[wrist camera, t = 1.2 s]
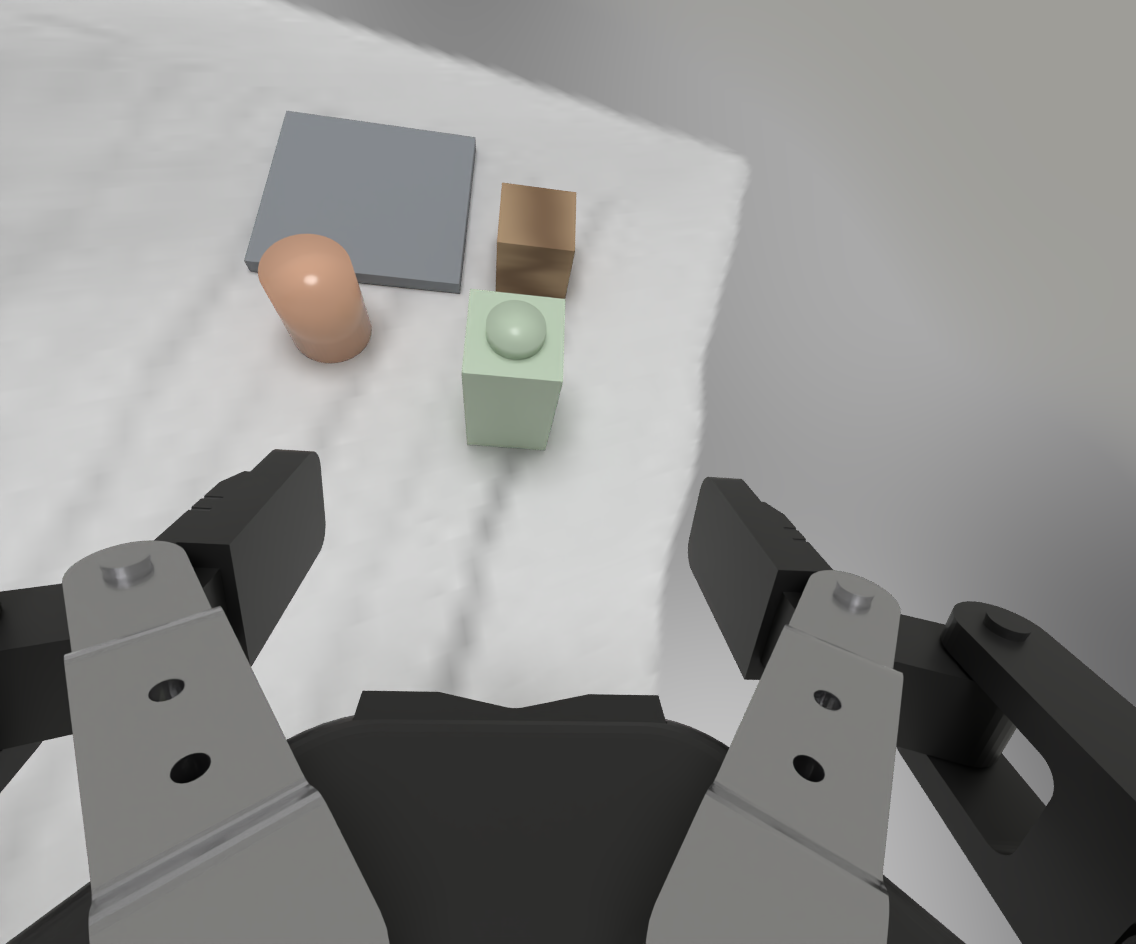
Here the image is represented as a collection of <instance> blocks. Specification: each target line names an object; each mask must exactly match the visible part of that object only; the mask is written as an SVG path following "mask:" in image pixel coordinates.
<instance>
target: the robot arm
mask: <svg viewBox="0 0 1136 944" xmlns="http://www.w3.org/2000/svg"><path fill="white" fill-rule="evenodd" d="M324 536H325V511H324V500H323V488H322V476H321V466H320V460H319V457H318V455H317V453H316V452H312V451H296V450H280V449H275V450H273V451H272V452H271V453H270V454H268V455H267V456H266V457H265V458H264V459H263V460H262V461H261V462H260V463H259V464H258V465H257V466H256V467H255V468H254V469H253V470H252V471H251V472H248V471H244V472H241V473H239V474H237V475H235V476H232V477H230V478H228V479H226V480H223V481H221V482H219V483H218V484H217V485H216V486H215V487H214V488H213V489H211V490H210V491H209V492H208V493H207V494H206V495H205V496H204V499H200V500H199V501H198V502H197V503H196V504H194V505H193V506H192V509H191V510H188V511H187V512H185V513H184V514H183V515H182V516H181V517H180V518H179V519H178V520H176V521H175V522H174V523H173V524H172V525H171V526H170V527H169V528H167V529H166V530H165V531H164V532H163V533H162V534H161V535H159V536H158V537H157V538H156V539H155V540H154V541H138V542H130V543H125V544H120V545H116V546H113V547H109V548H106V549H103V550H100V551H98V552H95V553H93V554H91V555H89V556H87V557H85V558H83V559H81V560H80V561H78V562H77V563H75V564H74V565H73V566H72V567H70V568H69V569H68V570H67V572H66V573H65V575H64V577H63V580H62V584H56V585H48V586H40V587H33V588H25V589H18V590H10V591H2V592H0V793H1V791H2V790H3V789H4V788H5V787H6V785H7V784H8V783H9V782H10V781H11V779H12V778H13V777H14V776H15V775H16V773H17V772H18V771H19V770H20V768H21V767H22V766H23V765H24V764H25V762H26V761H27V760H28V759H29V758H30V756H31V755H32V754H33V753H34V752H35V750H36V749H37V748H38V747H39V745H40V744H41V743H42V741H44V740H49V739H53V738H58V737H62V736H67V735H71V734H73V740H74V748H75V756H76V764H77V773H78V781H79V789H80V798H81V806H82V814H83V822H84V831H85V839H86V847H87V856H88V864H89V872H90V880H91V881H90V882H89V883H87V884H86V885H85V886H83V887H82V888H81V889H79V890H78V891H77V892H75V893H74V894H72V895H71V896H70V897H68V898H67V899H66V900H64V901H63V902H62V903H60V904H59V905H58V906H56V907H55V908H53V909H52V910H51V911H49V912H48V913H47V914H45V915H44V916H43V917H41V918H40V919H39V920H37V921H36V922H35V923H33V924H32V925H30V926H29V927H28V928H26V929H25V930H24V931H22V932H21V933H20V934H18V935H17V936H16V937H14V938H13V939H11V940H10V941H9V942H7V943H6V944H965V943H964V942H963V941H962V940H960V939H959V938H958V937H957V936H956V935H955V934H953V933H952V932H951V931H950V930H949V929H947V928H946V927H945V926H944V925H943V924H942V923H940V922H939V921H938V920H937V919H936V918H934V917H933V916H932V915H931V914H929V913H928V912H927V911H926V910H925V909H924V908H922V907H921V906H920V905H919V904H917V903H916V902H915V901H914V900H913V899H911V898H910V897H909V896H908V895H907V894H906V893H904V892H903V891H902V890H901V889H899V888H898V887H897V886H896V885H895V884H893V883H892V882H891V881H890V880H889V879H888V878H886V877H885V876H884V875H883V865H884V856H885V846H886V837H887V828H888V819H889V809H890V799H891V790H892V781H893V771H894V762H895V752H896V747H897V749H898V751H899V753H900V754H901V756H902V757H903V759H904V760H905V762H906V763H907V765H908V767H909V768H910V770H911V771H912V773H913V774H914V776H915V778H916V779H917V780H918V782H919V784H920V785H921V787H922V788H923V790H924V792H925V793H926V795H927V796H928V798H929V799H930V801H931V802H932V804H933V806H934V807H935V809H936V810H937V811H938V813H939V815H940V816H941V818H942V819H943V821H944V823H945V824H946V826H947V827H948V829H949V830H950V832H951V834H952V835H953V836H954V838H955V840H956V841H957V843H958V844H959V846H960V847H961V849H962V850H963V852H964V854H965V855H966V857H967V858H968V860H969V862H970V863H971V865H972V866H973V868H974V869H975V871H976V872H977V874H978V876H979V877H980V878H981V880H982V882H983V883H984V885H985V887H986V888H987V890H988V891H989V893H990V894H991V896H992V897H993V899H994V900H995V902H996V903H997V905H998V907H999V908H1000V910H1001V911H1002V913H1003V914H1004V916H1005V918H1006V919H1007V921H1008V922H1009V924H1010V925H1011V927H1012V929H1013V930H1014V931H1015V933H1016V935H1017V936H1018V938H1019V939H1020V941H1021V942H1022V944H1136V707H1134V706H1133V705H1132V704H1131V703H1130V702H1128V701H1127V700H1126V699H1125V698H1124V697H1122V696H1121V695H1120V694H1119V693H1118V692H1117V691H1115V690H1114V689H1113V688H1112V687H1111V686H1109V685H1108V684H1107V683H1106V682H1105V681H1103V680H1102V679H1101V678H1100V677H1099V676H1098V675H1096V674H1095V673H1094V672H1093V671H1092V670H1091V669H1089V668H1088V667H1087V666H1086V665H1085V664H1083V663H1082V662H1081V661H1080V660H1079V659H1077V658H1076V657H1075V656H1074V655H1073V654H1071V653H1070V652H1069V651H1068V650H1067V649H1065V648H1064V647H1063V646H1062V645H1061V644H1060V643H1058V642H1057V641H1056V640H1055V639H1054V638H1053V637H1051V636H1050V635H1049V634H1048V633H1047V632H1045V631H1044V630H1043V629H1041V628H1040V627H1039V626H1037V625H1035V624H1034V623H1032V622H1031V621H1029V620H1027V619H1025V618H1024V617H1021V616H1019V615H1017V614H1016V613H1013V612H1010V611H1008V610H1006V609H1003V608H1000V607H997V606H994V605H990V604H986V603H981V602H968V601H967V602H961V603H958V604H956V605H955V606H954V608H953V610H952V612H951V614H950V616H949V618H948V620H947V623H946V625H944V624H939V623H936V622H931V621H927V620H923V619H918V618H914V617H910V616H906V615H902V614H900V613H901V612H900V606H899V604H898V602H897V601H896V599H895V598H894V597H893V596H892V595H891V594H890V593H889V592H887V591H886V590H885V589H883V588H881V587H880V586H879V585H877V584H875V583H874V582H872V581H869V580H867V579H865V578H863V577H860V576H857V575H854V574H851V573H846V572H842V571H835V570H833V569H832V568H831V567H830V566H829V565H828V564H827V563H826V562H825V560H824V559H823V558H822V557H821V556H820V555H819V553H818V552H817V551H816V550H815V549H814V548H813V547H812V546H811V544H810V543H809V542H806V539H805V538H804V536H802V534H801V533H800V532H799V531H797V530H796V528H795V526H794V525H793V524H792V523H791V522H790V521H789V520H788V518H787V517H786V516H785V515H784V514H783V513H781V512H779V511H778V510H776V509H775V508H773V507H771V506H770V505H768V504H767V503H765V502H761V501H760V500H759V498H758V497H757V496H756V495H755V494H754V492H753V491H752V490H751V489H750V488H749V486H748V485H747V484H746V483H745V482H744V481H743V480H742V479H732V478H717V477H707V478H705V479H704V481H703V483H702V485H701V489H700V493H699V497H698V502H697V506H696V511H695V515H694V520H693V524H692V529H691V533H690V537H689V543H688V558H689V564H690V568H691V570H692V572H693V574H694V576H695V578H696V580H697V582H698V584H699V587H700V589H701V591H702V593H703V595H704V597H705V599H706V601H707V603H708V605H709V607H710V609H711V611H712V613H713V615H714V618H715V620H716V622H717V624H718V626H719V628H720V630H721V632H722V634H723V636H724V638H725V640H726V642H727V644H728V646H729V649H730V651H731V653H732V655H733V657H734V659H735V661H736V663H737V665H738V667H739V669H740V671H741V673H742V676H743V677H744V679H747V680H760V681H759V683H758V686H757V688H756V690H755V692H754V694H753V697H752V699H751V701H750V703H749V706H748V708H747V710H746V712H745V714H744V717H743V719H742V721H741V723H740V726H739V728H738V730H737V732H736V734H735V737H734V739H733V741H732V743H731V746H730V748H729V747H728V746H726V745H725V744H723V743H722V742H720V741H718V740H716V739H715V738H713V737H711V736H709V735H707V734H705V733H703V732H701V731H699V730H697V729H694V728H692V727H690V726H687V725H684V724H681V723H678V722H675V721H671V720H667V719H665V717H664V714H663V710H662V707H661V703H660V700H659V696H658V695H597V694H588V695H583V696H578V697H573V698H568V699H563V700H558V701H553V702H549V703H544V704H539V705H534V706H529V707H524V708H507V707H502V706H498V705H494V704H489V703H485V702H480V701H476V700H472V699H467V698H463V697H458V696H454V695H450V694H445V693H441V692H409V691H362V694H361V697H360V700H359V703H358V706H357V709H356V712H355V715H354V716H349V717H344V718H340V719H337V720H333V721H330V722H327V723H323V724H321V725H318V726H316V727H313V728H311V729H308V730H306V731H303V732H301V733H299V734H297V735H295V736H293V737H291V738H289V739H287V740H286V738H285V736H284V734H283V732H282V730H281V728H280V726H279V724H278V722H277V720H276V718H275V716H274V714H273V711H272V709H271V707H270V705H269V703H268V701H267V699H266V697H265V695H264V693H263V691H262V689H261V687H260V685H259V683H258V681H257V679H256V677H255V674H254V672H253V670H252V668H251V666H252V665H253V663H254V661H255V660H256V658H257V656H258V655H259V653H260V651H261V650H262V648H263V646H264V645H265V643H266V641H267V640H268V638H269V636H270V635H271V633H272V631H273V630H274V628H275V626H276V624H277V623H278V621H279V619H280V618H281V616H282V614H283V613H284V611H285V609H286V608H287V606H288V604H289V603H290V601H291V599H292V598H293V596H294V594H295V593H296V591H297V589H298V588H299V586H300V584H301V583H302V581H303V579H304V578H305V576H306V574H307V573H308V571H309V569H310V568H311V566H312V564H313V562H314V561H315V559H316V557H317V556H318V554H319V552H320V550H321V548H322V545H323V541H324ZM1016 728H1018V729H1019V731H1020V732H1021V733H1022V734H1023V735H1024V736H1025V737H1026V738H1027V739H1028V741H1029V742H1030V743H1031V744H1032V745H1033V746H1034V747H1035V748H1036V749H1037V750H1038V752H1040V754H1041V755H1042V756H1043V758H1044V759H1045V760H1046V762H1047V764H1048V766H1049V768H1050V770H1051V773H1052V776H1053V780H1054V792H1053V796H1052V798H1051V800H1050V802H1049V803H1048V804H1047V806H1045V805H1044V803H1043V802H1042V801H1041V800H1040V799H1039V797H1038V796H1037V795H1036V794H1035V793H1034V791H1033V790H1032V789H1031V788H1030V787H1029V786H1028V784H1027V783H1026V782H1025V781H1024V779H1023V778H1022V777H1021V776H1020V775H1019V774H1018V772H1017V771H1016V770H1015V769H1014V767H1013V766H1012V765H1011V764H1010V763H1009V761H1008V760H1007V759H1006V758H1005V757H1004V755H1003V754H1002V751H1003V750H1004V748H1005V746H1006V745H1007V743H1008V741H1009V740H1010V738H1011V736H1012V735H1013V733H1014V731H1015V730H1016Z"/></svg>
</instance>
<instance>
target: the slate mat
mask: <svg viewBox="0 0 1136 944" xmlns="http://www.w3.org/2000/svg"><path fill="white" fill-rule="evenodd" d="M475 149H476V144H475V137H470V136H462V135H455V134H448V133H441V132H434V131H427V130H420V129H413V128H406V127H399V126H391V125H384V124H377V123H370V122H363V121H356V120H349V119H342V118H335V117H328V116H320V115H313V114H306V113H299V112H292V111H286V114H285V118H284V121H283V125H282V128H281V132H280V136H279V139H278V143H277V146H276V150H275V153H274V157H273V160H272V164H271V168H270V171H269V175H268V178H267V182H266V185H265V189H264V192H263V196H262V199H261V203H260V207H259V210H258V214H257V217H256V221H255V224H254V228H253V231H252V235H251V238H250V242H249V246H248V249H247V253H246V256H245V260H244V261H245V263H246V265H247V266H248V268H249V270H250V271H254V272H258V266H259V262H260V259H261V257H262V256H263V254H264V253H265V251H266V250H267V249H268V248H269V247H270V246H271V245H273V244H274V243H276V242H277V241H279V240H281V239H283V238H286V237H289V236H292V235H297V234H316V235H321V236H325V237H327V238H330V239H332V240H334V241H336V242H337V243H338V244H340V245H341V246H342V247H343V248H344V249H345V250H346V252H347V253H348V255H349V257H350V260H351V263H352V266H353V269H354V272H355V275H356V278H357V281H358V283H367V284H376V285H385V286H395V287H404V288H414V289H423V290H432V291H442V292H451V293H460V286H461V277H462V268H463V259H464V250H465V241H466V231H467V222H468V213H469V204H470V195H471V186H472V177H473V168H474V158H475Z"/></svg>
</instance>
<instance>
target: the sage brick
mask: <svg viewBox="0 0 1136 944" xmlns="http://www.w3.org/2000/svg"><path fill="white" fill-rule="evenodd" d="M564 325H565V299H560V298H551V297H541V296H532V295H523V294H513V293H504V292H495V291H485V290H476V289H470V295H469V305H468V315H467V325H466V335H465V344H464V354H463V364H462V384H463V397H464V409H465V422H466V435H467V445H481V446H494V447H508V448H521V449H535V450H545V449H546V445H547V441H548V437H549V433H550V429H551V426H552V422H553V418H554V414H555V410H556V406H557V402H558V399H559V395H560V391H561V387H562V383H563V360H564Z"/></svg>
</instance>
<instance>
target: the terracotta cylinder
mask: <svg viewBox="0 0 1136 944" xmlns="http://www.w3.org/2000/svg"><path fill="white" fill-rule="evenodd" d="M258 276H259V280H260V283H261V285H262V286H263V288H264V290H265V292H266V293H267V295H268V297H269V299H270V300H271V302H272V304H273V306H274V308H275V309H276V311H277V313H278V315H279V316H280V318H281V320H282V322H283V323H284V325H285V327H286V329H287V331H288V332H289V334H290V336H291V338H292V339H293V341H294V343H295V345H296V346H297V348H298V349H299V350H300V351H301V352H302V353H303V354H304V355H305V356H307V357H308V358H310V359H312V360H315V361H318V362H323V363H338V362H343V361H346V360H349V359H351V358H353V357H355V356H356V355H358V354H359V353H360V352H361V351H362V350H363V349H364V348H365V347H366V346H367V344H368V342H369V340H370V337H371V332H372V327H371V322H370V319H369V316H368V313H367V309H366V306H365V303H364V300H363V297H362V294H361V291H360V288H359V284H358V281H357V278H356V275H355V272H354V269H353V266H352V263H351V260H350V257H349V255H348V253H347V252H346V250H345V249H344V248H343V247H342V246H341V245H340V244H338V243H337V242H336V241H334V240H332V239H330V238H327V237H325V236H321V235H316V234H297V235H292V236H289V237H286V238H283V239H281V240H279V241H277V242H276V243H274V244H273V245H271V246H270V247H269V248H268V249H267V250H266V251H265V253H264V254H263V256H262V257H261V259H260V262H259V266H258Z"/></svg>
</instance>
